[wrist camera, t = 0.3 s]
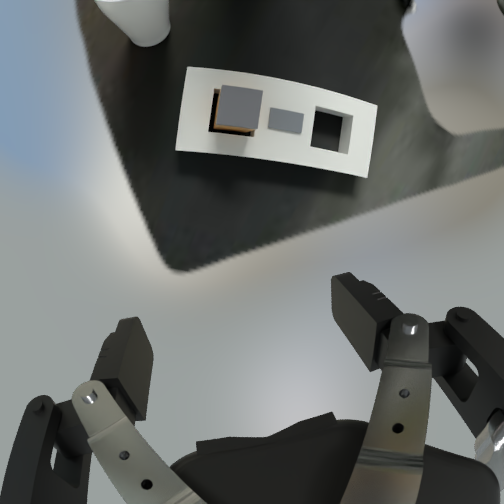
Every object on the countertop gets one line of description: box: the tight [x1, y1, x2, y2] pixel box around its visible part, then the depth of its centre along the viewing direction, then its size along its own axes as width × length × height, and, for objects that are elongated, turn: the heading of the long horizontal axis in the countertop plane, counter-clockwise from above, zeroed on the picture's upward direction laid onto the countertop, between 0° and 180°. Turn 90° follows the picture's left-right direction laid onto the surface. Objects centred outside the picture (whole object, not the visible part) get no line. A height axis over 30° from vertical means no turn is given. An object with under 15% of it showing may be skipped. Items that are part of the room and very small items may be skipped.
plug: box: [213, 85, 263, 133], centre depth 29 cm, size 4×4×8 cm
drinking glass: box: [94, 0, 170, 47], centre depth 20 cm, size 7×7×15 cm
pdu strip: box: [176, 67, 377, 178], centre depth 32 cm, size 10×24×3 cm, turn 82°
